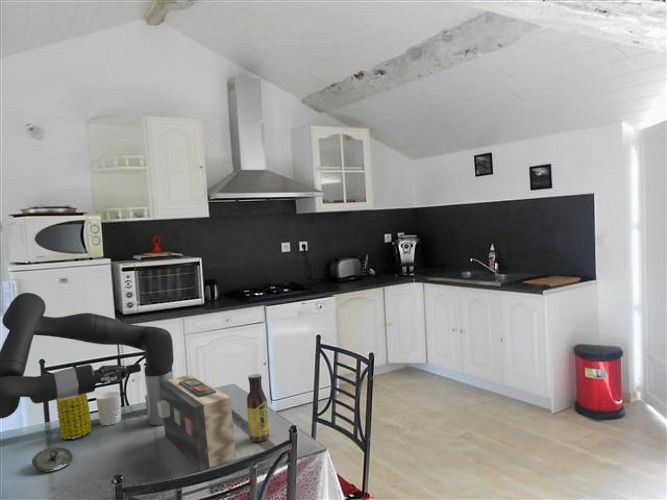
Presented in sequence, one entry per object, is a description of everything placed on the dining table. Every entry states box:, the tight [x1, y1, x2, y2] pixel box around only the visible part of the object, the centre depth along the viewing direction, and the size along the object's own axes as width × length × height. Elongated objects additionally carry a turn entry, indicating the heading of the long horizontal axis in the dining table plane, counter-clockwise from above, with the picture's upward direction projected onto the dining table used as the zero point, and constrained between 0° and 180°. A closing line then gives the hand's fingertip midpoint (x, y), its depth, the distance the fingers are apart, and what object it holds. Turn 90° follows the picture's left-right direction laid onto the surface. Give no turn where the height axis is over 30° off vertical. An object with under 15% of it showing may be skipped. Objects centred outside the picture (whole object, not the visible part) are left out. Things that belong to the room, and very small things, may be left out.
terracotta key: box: [185, 416, 193, 436], centre depth 147 cm, size 2×4×4 cm, turn 35°
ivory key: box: [157, 400, 170, 418], centre depth 162 cm, size 2×4×4 cm, turn 35°
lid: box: [31, 446, 74, 472], centre depth 153 cm, size 11×10×5 cm
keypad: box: [160, 374, 237, 472], centre depth 158 cm, size 10×32×19 cm, turn 35°
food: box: [55, 393, 92, 440], centre depth 175 cm, size 15×12×10 cm
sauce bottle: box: [246, 373, 270, 443], centre depth 161 cm, size 6×6×20 cm
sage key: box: [174, 408, 181, 426], centre depth 155 cm, size 2×4×4 cm, turn 35°
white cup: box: [95, 390, 122, 425], centre depth 185 cm, size 8×8×10 cm
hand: (140, 367), depth 149 cm, fingers closed
